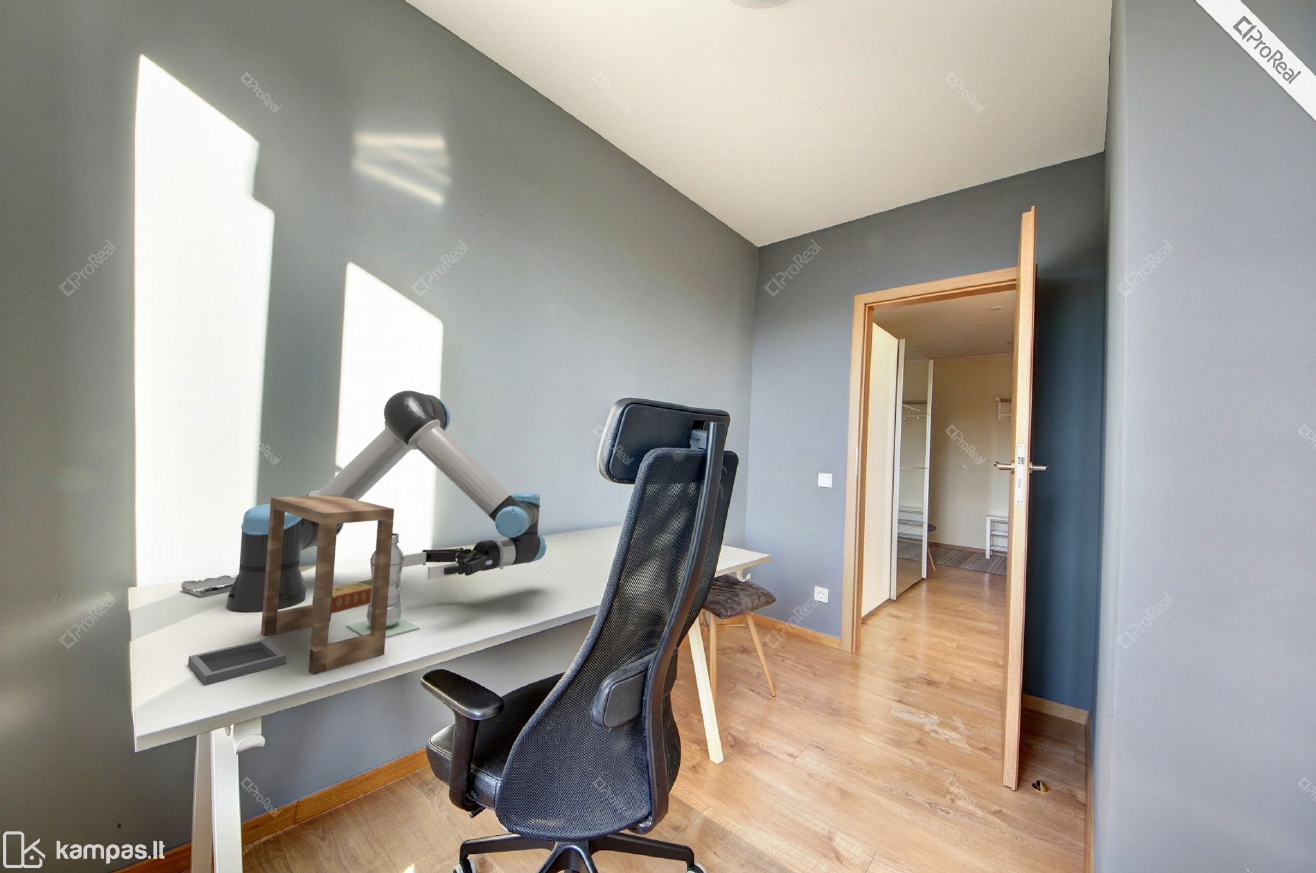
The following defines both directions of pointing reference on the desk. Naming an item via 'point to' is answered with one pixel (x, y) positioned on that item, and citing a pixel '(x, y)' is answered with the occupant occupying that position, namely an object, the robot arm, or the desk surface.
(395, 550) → the plastic bottle
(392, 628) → the pad
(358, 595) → the carton
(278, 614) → the wooden stool
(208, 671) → the grey shallow rectangular tray
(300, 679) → the desk surface
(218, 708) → the desk surface
